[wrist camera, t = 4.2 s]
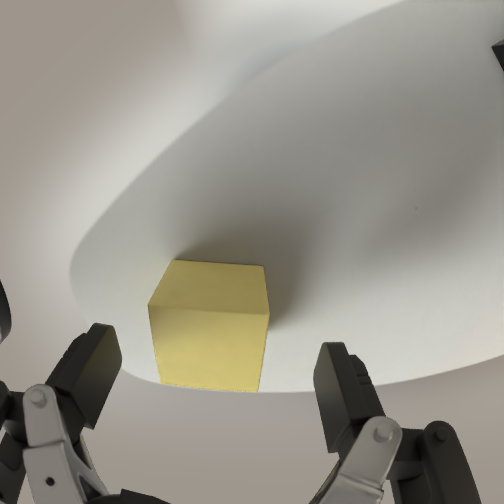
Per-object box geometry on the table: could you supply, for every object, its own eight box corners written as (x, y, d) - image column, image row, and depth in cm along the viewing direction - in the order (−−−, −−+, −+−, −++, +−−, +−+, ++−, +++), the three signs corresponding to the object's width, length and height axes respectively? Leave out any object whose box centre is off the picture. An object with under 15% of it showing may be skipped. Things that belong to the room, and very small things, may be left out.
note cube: (176, 331, 15) (160, 383, 11) (171, 259, 13) (147, 304, 9) (255, 337, 15) (258, 392, 11) (263, 265, 13) (270, 314, 10)
